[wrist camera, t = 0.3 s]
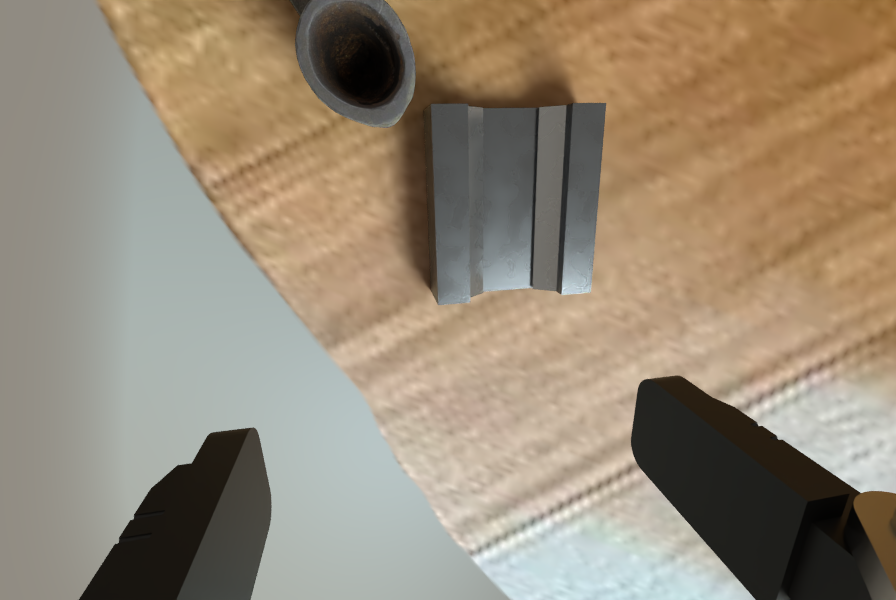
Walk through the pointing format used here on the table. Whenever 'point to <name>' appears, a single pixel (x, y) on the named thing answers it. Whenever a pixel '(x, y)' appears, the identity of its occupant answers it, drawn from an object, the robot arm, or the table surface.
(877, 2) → the table surface
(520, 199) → the v block
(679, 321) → the table surface
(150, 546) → the robot arm
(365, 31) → the pipe
